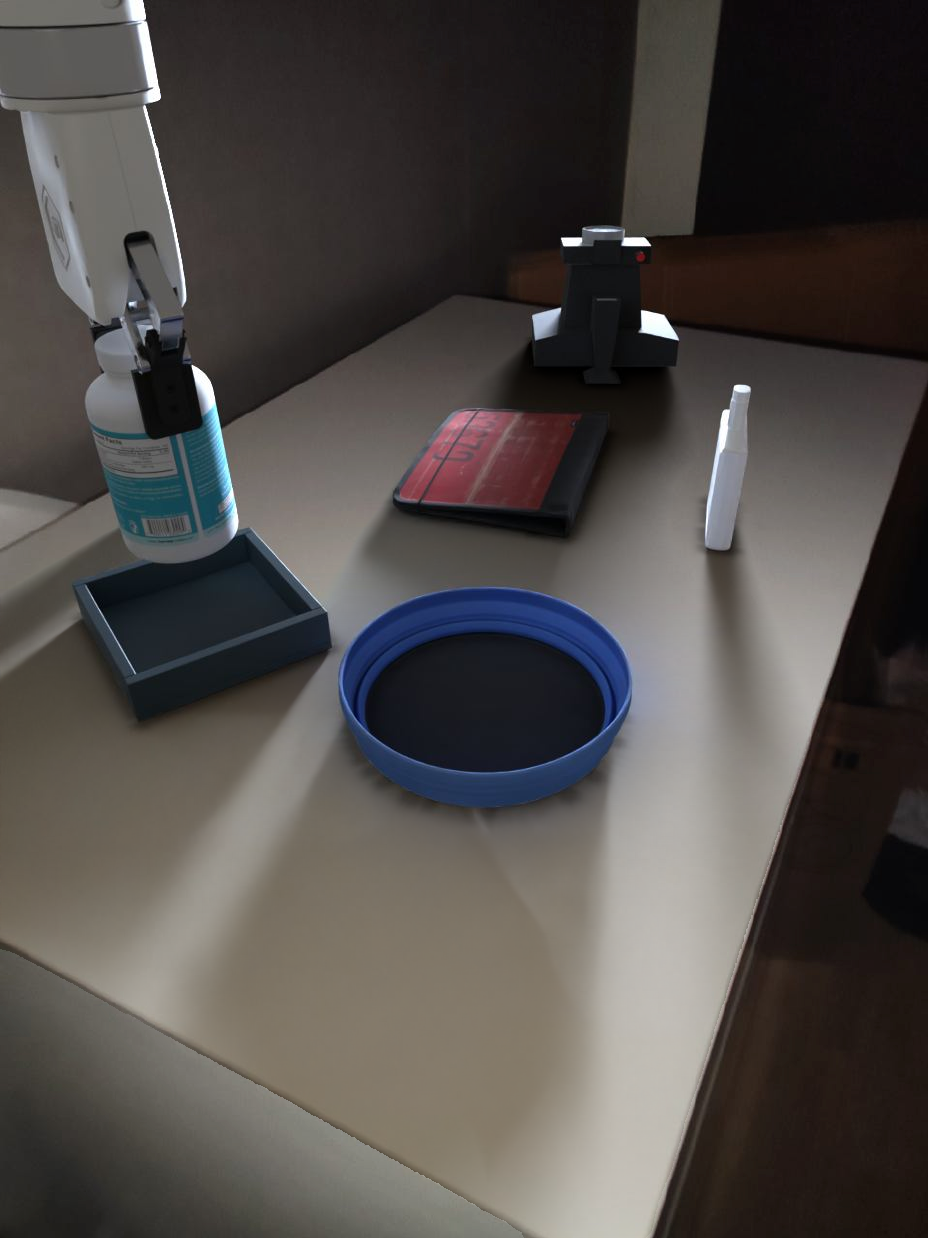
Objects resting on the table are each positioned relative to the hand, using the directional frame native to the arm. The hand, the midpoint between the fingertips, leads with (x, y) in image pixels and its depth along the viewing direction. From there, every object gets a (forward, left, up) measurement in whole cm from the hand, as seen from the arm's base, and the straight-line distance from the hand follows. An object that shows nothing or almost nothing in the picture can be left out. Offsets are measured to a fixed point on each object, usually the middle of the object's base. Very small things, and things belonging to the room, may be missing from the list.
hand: (152, 406), depth 55 cm
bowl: (+18, +12, -17) cm, 28 cm away
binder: (-8, +32, -17) cm, 37 cm away
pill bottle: (0, 0, -9) cm, 9 cm away
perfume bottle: (+10, +41, -17) cm, 46 cm away
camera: (-24, +57, -17) cm, 64 cm away
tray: (0, 0, -17) cm, 17 cm away
